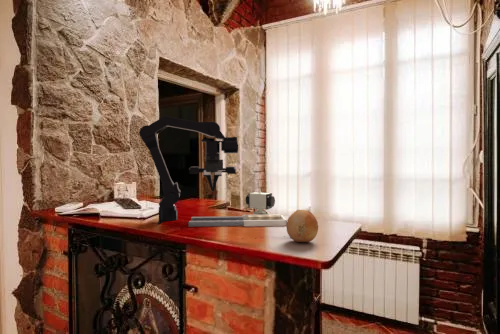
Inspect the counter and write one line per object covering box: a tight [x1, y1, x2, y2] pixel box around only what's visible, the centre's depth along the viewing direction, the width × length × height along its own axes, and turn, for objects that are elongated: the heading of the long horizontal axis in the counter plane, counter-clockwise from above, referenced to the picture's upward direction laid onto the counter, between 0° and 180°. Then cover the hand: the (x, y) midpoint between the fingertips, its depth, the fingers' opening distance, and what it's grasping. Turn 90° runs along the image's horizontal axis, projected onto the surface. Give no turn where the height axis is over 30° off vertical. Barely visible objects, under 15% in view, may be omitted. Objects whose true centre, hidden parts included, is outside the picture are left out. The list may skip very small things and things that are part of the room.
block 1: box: [247, 214, 259, 220], centre depth 119 cm, size 4×4×3 cm
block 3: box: [269, 215, 280, 220], centre depth 119 cm, size 4×4×3 cm
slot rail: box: [188, 215, 245, 228], centre depth 117 cm, size 20×10×3 cm, turn 94°
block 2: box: [259, 215, 270, 220], centre depth 119 cm, size 4×4×3 cm
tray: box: [241, 213, 288, 227], centre depth 119 cm, size 16×12×3 cm
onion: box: [285, 209, 319, 243], centre depth 95 cm, size 10×10×10 cm
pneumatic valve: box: [245, 190, 276, 215], centre depth 131 cm, size 6×12×12 cm, turn 63°
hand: (212, 191), depth 127 cm, fingers closed
